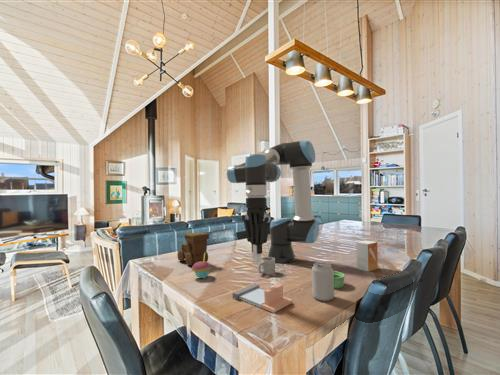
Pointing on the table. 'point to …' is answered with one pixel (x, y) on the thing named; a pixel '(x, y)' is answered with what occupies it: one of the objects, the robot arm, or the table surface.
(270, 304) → the stub
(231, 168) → the robot arm
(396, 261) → the table surface
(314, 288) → the can
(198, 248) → the wooden toy train
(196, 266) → the cupcake
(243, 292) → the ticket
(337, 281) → the ramekin
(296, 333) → the table surface
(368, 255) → the small box
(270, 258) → the mug
